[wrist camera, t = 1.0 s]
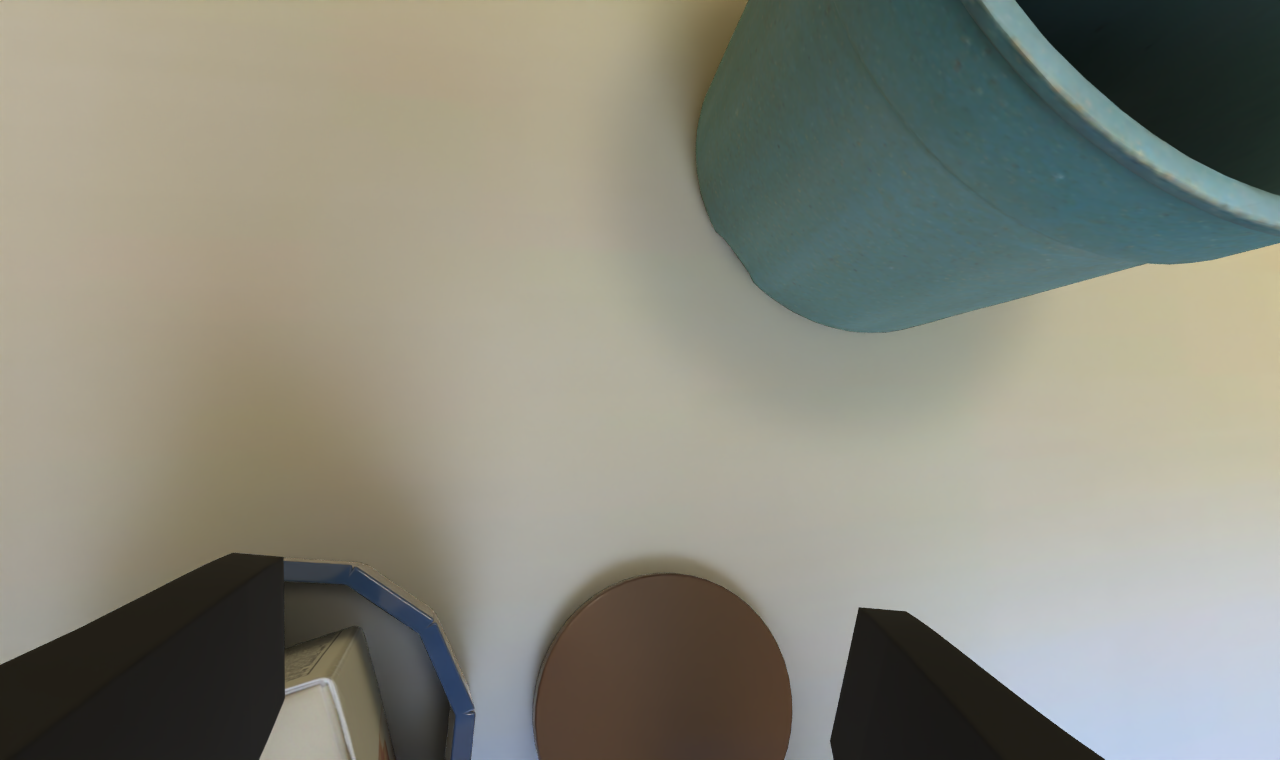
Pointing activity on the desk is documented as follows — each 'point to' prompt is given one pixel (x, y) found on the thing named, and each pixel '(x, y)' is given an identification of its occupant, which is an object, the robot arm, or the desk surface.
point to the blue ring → (416, 619)
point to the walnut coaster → (663, 677)
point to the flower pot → (986, 147)
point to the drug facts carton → (330, 703)
